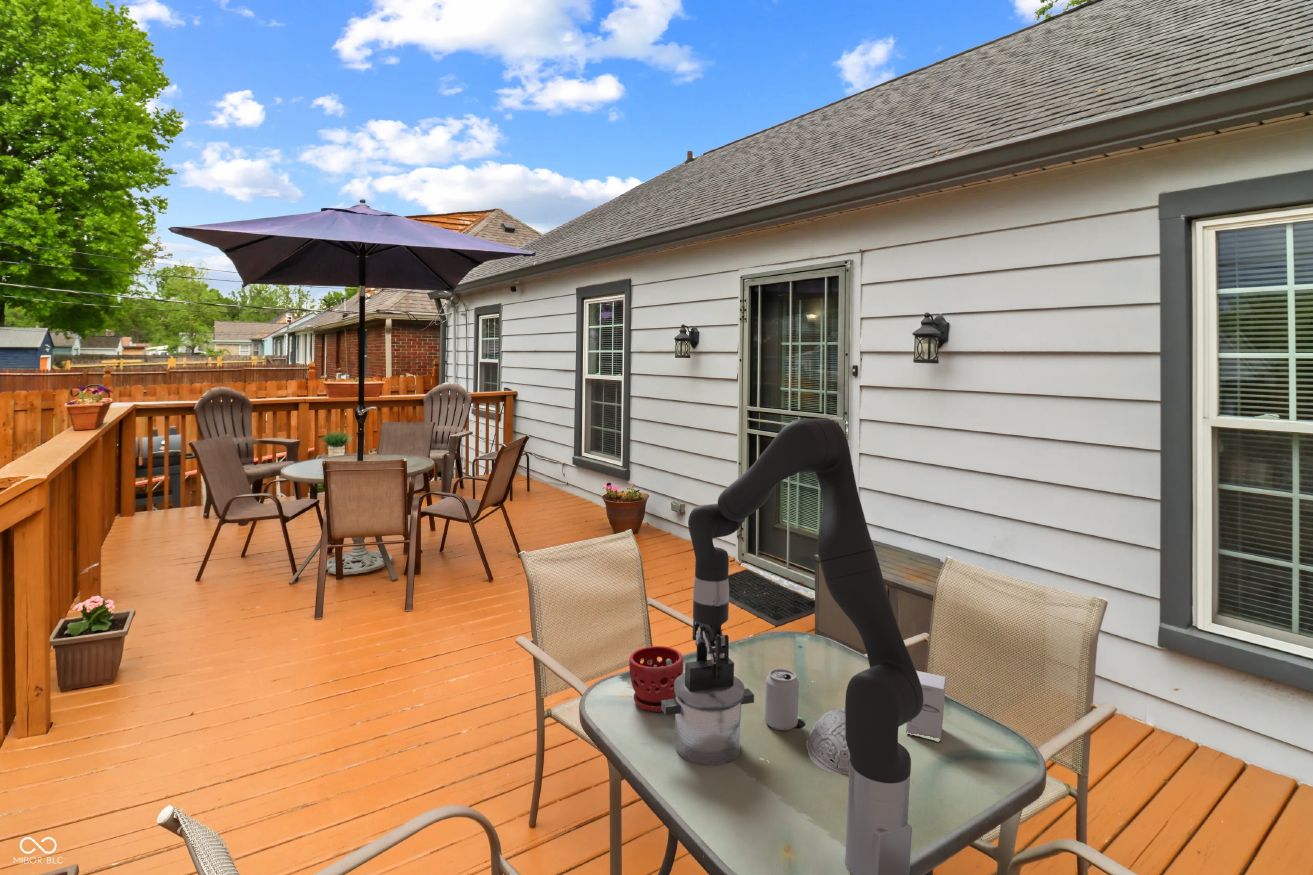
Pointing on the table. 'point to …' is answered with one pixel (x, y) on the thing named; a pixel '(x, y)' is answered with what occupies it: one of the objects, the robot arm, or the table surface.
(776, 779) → the table surface
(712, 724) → the cooker
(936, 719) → the supplement box
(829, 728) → the grey oval domed piece
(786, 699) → the can
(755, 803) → the table surface
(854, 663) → the table surface
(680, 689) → the lid
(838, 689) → the table surface
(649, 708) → the plant pot
